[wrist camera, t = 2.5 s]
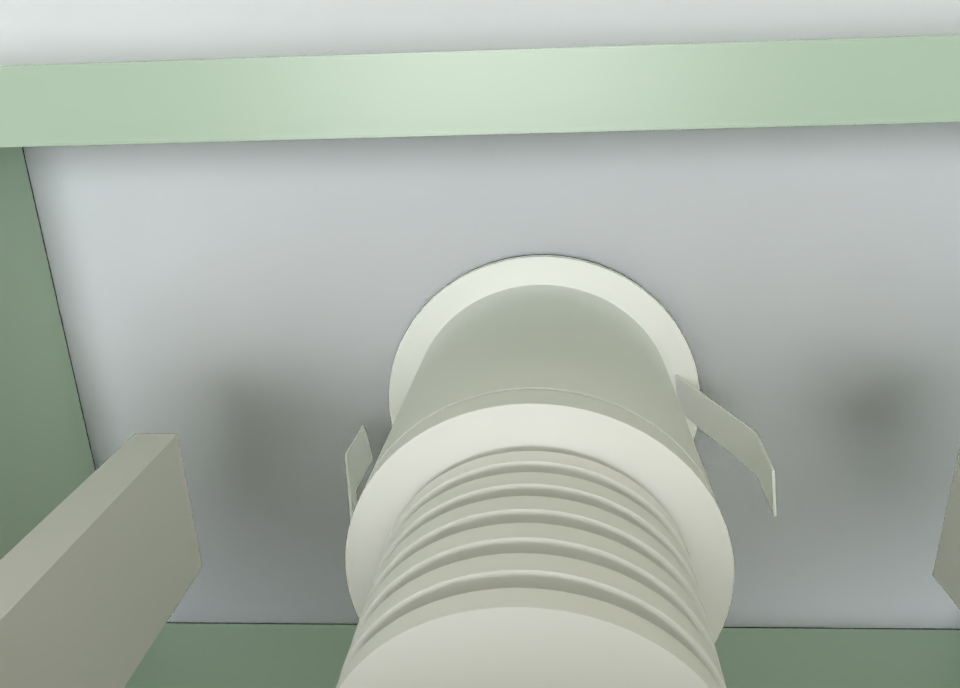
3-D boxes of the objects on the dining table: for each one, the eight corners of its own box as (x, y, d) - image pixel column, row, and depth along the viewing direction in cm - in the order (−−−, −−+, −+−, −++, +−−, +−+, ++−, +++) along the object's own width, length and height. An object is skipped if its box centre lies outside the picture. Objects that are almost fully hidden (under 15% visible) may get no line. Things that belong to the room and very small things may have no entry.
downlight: (707, 225, 16) (932, 456, 6) (727, 512, 18) (915, 991, 9) (342, 279, 17) (81, 540, 8) (405, 542, 19) (264, 993, 10)
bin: (94, 658, 20) (0, 789, 17) (-52, 73, 15) (-235, 73, 12) (1007, 668, 19) (1126, 813, 15) (1171, 34, 14) (1409, 20, 10)
